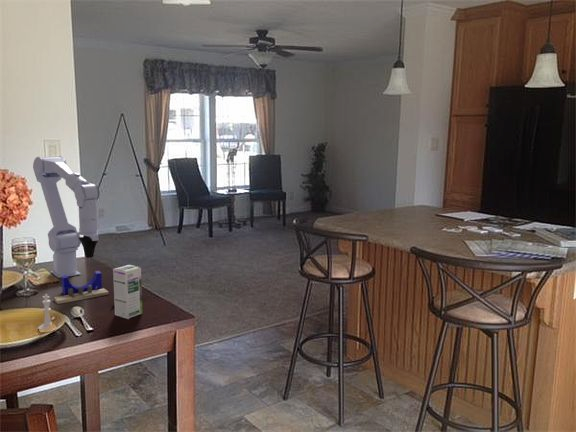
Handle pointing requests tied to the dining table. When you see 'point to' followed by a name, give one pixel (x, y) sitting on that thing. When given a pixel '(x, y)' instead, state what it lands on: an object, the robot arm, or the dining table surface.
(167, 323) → the dining table surface
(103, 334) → the dining table surface
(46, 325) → the chess piece
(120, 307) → the syrup box
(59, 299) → the coat hook rack
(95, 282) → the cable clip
